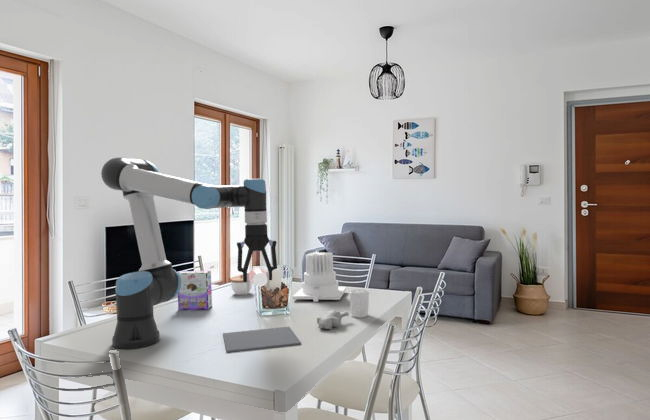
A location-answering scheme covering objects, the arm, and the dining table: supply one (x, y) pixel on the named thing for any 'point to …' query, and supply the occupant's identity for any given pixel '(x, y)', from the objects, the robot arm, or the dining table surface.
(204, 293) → the candy box
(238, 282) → the lidded jar
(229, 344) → the mat
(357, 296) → the white cup
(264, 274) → the beverage cup
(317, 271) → the white finned lamp
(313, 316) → the dining table surface
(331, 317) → the bunny figurine
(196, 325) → the dining table surface
